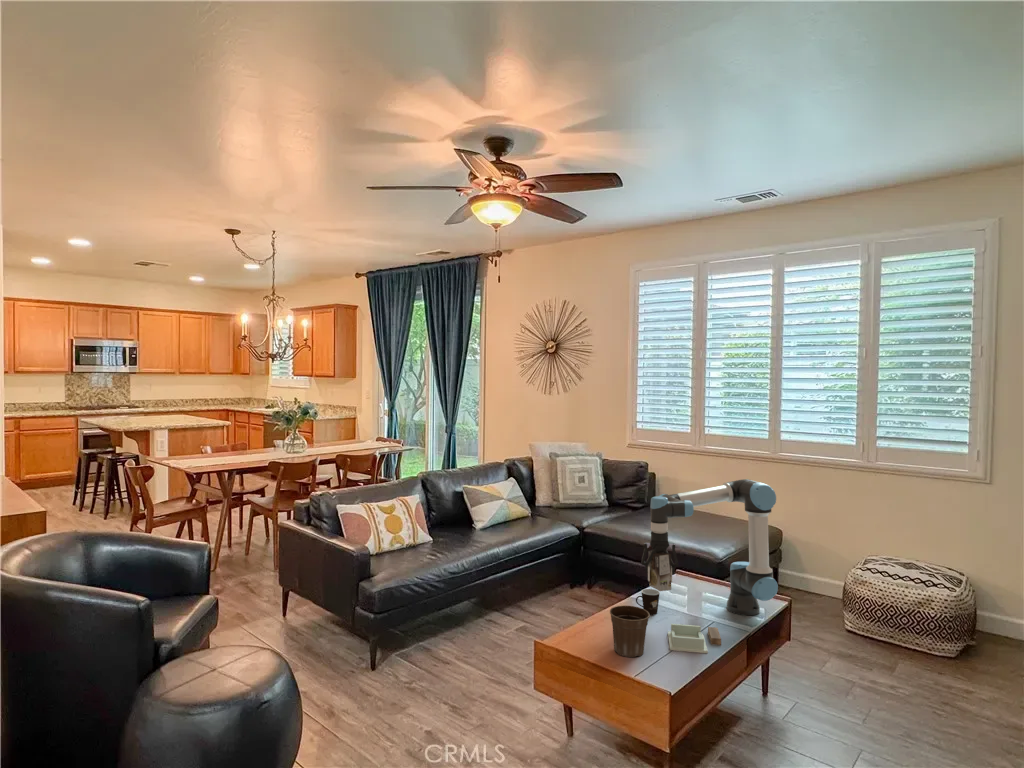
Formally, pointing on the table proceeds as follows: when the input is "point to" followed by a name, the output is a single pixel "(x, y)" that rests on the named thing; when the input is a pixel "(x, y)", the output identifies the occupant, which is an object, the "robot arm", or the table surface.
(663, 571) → the coffee box
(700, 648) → the mint green tray
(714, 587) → the table surface
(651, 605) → the coffee mug
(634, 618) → the plant pot
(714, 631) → the brown wooden block
